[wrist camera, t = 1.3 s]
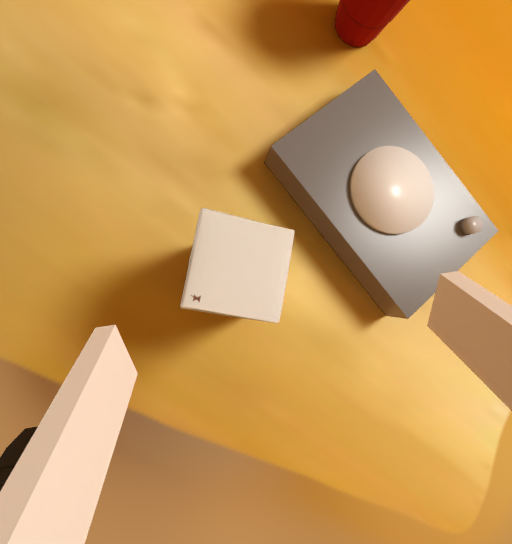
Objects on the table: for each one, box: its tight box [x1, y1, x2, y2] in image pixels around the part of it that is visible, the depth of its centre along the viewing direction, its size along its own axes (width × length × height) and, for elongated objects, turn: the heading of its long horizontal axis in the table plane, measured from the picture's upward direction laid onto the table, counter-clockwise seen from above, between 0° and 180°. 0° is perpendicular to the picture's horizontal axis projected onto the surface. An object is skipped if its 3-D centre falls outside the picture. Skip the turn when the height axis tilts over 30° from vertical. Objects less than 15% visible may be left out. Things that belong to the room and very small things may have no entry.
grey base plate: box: [264, 70, 498, 319], centre depth 33 cm, size 24×16×5 cm, turn 40°
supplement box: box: [180, 208, 295, 323], centre depth 26 cm, size 7×7×13 cm
